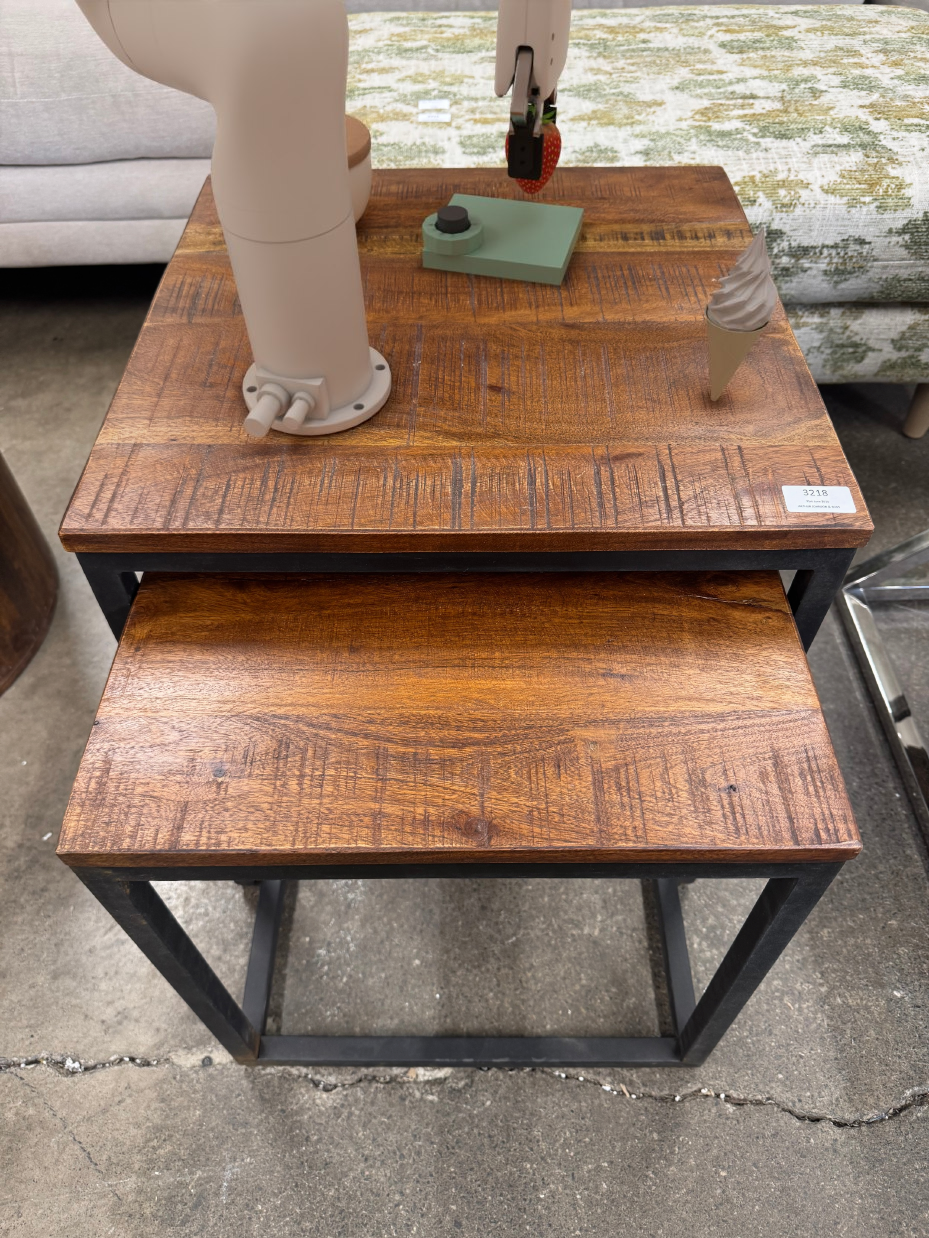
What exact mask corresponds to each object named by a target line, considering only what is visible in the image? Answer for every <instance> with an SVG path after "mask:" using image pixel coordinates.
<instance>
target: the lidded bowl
mask: <svg viewBox="0 0 929 1238" xmlns="http://www.w3.org/2000/svg"><path fill="white" fill-rule="evenodd" d="M345 122H346V146H347V160H348V170H349V180H350V189H351V197H352V204H353V212H354V220H355V225H356V224H357V223H358V222H359V220H360V219H361V217H362V216H363V215H364V213H365V211H366V209H367V206H368V203H369V200H370V196H371V189H372V181H373V179H372V178H373V172H372V171H373V163H372V153H371V149H372V136H371V132H370V130H369V128H368V127H367V126H366V124H365V123H364V122H362V121H361V120H360V119H357V118H356V117H353V116H351V115H349V114H345Z"/></svg>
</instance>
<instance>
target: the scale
mask: <svg viewBox="0 0 929 1238" xmlns="http://www.w3.org/2000/svg"><path fill="white" fill-rule="evenodd" d="M450 205H456V206H461V207H464V208H465V209H466V210H467V211H468V230H467V231H465V232H463V233H457V234H446V233H442V232H440V231H438V223H437V212H438V211H436V212H434V213H432V214H430V215H428V216H426V217H425V219H424V221H423V223H422V224H421V233H422V235H421V236H422V242H423V244H424V246H423V248H422V250H421V251H422V252H421V253H422V254H421V255H422V267H423V268H425V269H433V270H440V271H448V272H455V273H463V274H470V275H478V276H486V277H494V278H500V279H506V280H507V279H508V280H515V281H522V282H530V283H539V284H545V285H552V286H553V285H554V286H561V285H562V283H563V281H564V280H563V279H564V278H565V277H564V276H565V274H566V272H567V270H568V266H569V263H570V260H571V258H572V255H573V253H574V250H575V247H576V244H577V241H578V238H579V236H580V233H581V230H582V227H583V222H584V215H585V214H584V211H585V208H583V207H576V206H575V207H574V206H567V205H566V206H565V205H557V204H548V203H540V202H532V201H524V200H516V199H507V198H499V197H497V198H496V197H489V196H481V195H472V194H466V193H465V194H464V193H454V194H453V196H452V197H451V199H450V201H449V203H448V204H447V206H450Z"/></svg>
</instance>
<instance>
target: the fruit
mask: <svg viewBox="0 0 929 1238" xmlns="http://www.w3.org/2000/svg"><path fill="white" fill-rule="evenodd" d="M535 106H536V104H535ZM535 106H534V107H533V106H531V104H530V106H529V109H528V111H532V112H533V115H534V116H535ZM554 112H555V110H554V111H552V112H550V113H548V114H545V115H543V116H542V125H541V133H543V134H544V145H543V163H542V176H541V178H540V180H538V181H535V180H526V179H517V178H513V179H514V180H515V182H516V184H517V185H518V187H519V188H520V189H521V190H522V191H523V192H524V193H525V194H527V195H535V194H537V193H539V192H541V190H542V189H543V188H544V187H545V186H546V185H547V183H548V182H549V180H550V179H551V178H552V175H553V174H554V172H555V170H556V168H557V166H558V163H559V160H560V157H561V152H562V143H563V142H562V136H561V133H560V130H559V128H558V126H557V124H556V125H555V124H554V123H552V121H554V120H555V119H556V120H557V117H556V118H555V119H552V120H547V119H546V118H549V117H551V116H552V115H553V114H554ZM508 138H509V130H508V131H507V133H506V135H505V141H504V154H505V159H506V163H507V164H508Z"/></svg>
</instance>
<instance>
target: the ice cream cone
mask: <svg viewBox="0 0 929 1238" xmlns="http://www.w3.org/2000/svg"><path fill="white" fill-rule="evenodd" d="M735 259H736V260H737V262H736V263H734V265H733V267H732V268H731V269H730V270H728V271H727V273H728V274H729V275H727V276H724V277H721V278H718V279H717V281H716V282H717V283H718V284H719V285H720V288H719V289H717V290H713V291H712V293H710V297H711V298H712V299H711V300H709V301H708V302H707V304H705V307H704V310H703V313H704V317H705V321H706V338H707V353H708V354H707V355H708V370H709V386H710V399H711V401H712V402H717V401H718V400H719V398H720V397H721V395H722V394H723V392H724V391H725V389H726V387H727V386H728V384H729V383H730V381H731V380H732V379H733V377H734V376H735V374H736V373H737V371H738V369H739V368H740V366H741V364H742V363H743V362H744V360H745V359H746V357H747V356H748V354H749V352H750V350H751V349H752V348H753V346H754V345H755V343H756V342H757V340H758V339H759V337H760V335H761V334H762V332H764V330H765V328H767V327H768V326H769V325H770V323H771V320H772V317H773V313H774V310H775V308H776V305H777V302H778V301H777V300H778V294H779V291H778V287H777V286H776V284H775V282H774V281H773V278H772V277H771V275H770V272H771V266H772V261H771V259H770V256H769V255H768V249H767V241H766V235H765V226H762V227H761V228H760V229H759V231H758V232H757V234H756V235H755V236H754V237H753V239H752V241H751V242H750V243H749V244H748V246H747V247H746V248H745V250H743V251H742V253H740V254H739V255H738V256H736V257H735Z"/></svg>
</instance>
